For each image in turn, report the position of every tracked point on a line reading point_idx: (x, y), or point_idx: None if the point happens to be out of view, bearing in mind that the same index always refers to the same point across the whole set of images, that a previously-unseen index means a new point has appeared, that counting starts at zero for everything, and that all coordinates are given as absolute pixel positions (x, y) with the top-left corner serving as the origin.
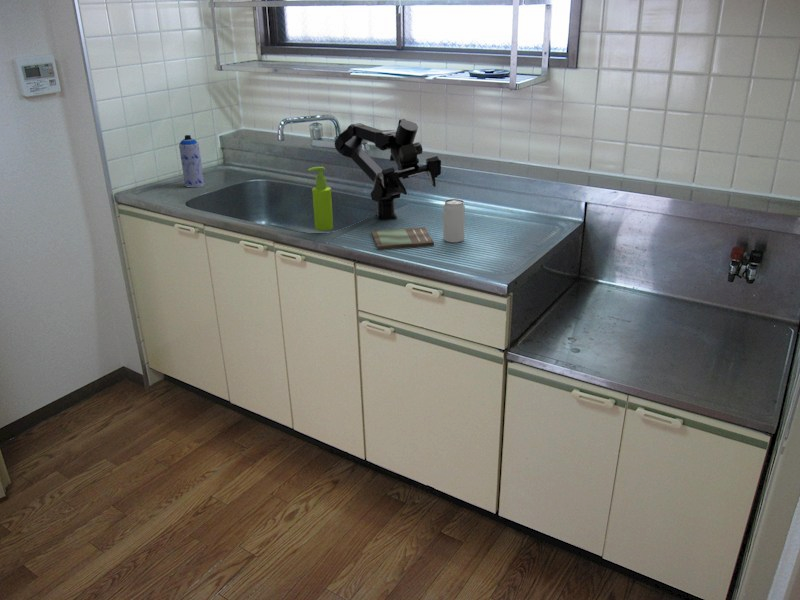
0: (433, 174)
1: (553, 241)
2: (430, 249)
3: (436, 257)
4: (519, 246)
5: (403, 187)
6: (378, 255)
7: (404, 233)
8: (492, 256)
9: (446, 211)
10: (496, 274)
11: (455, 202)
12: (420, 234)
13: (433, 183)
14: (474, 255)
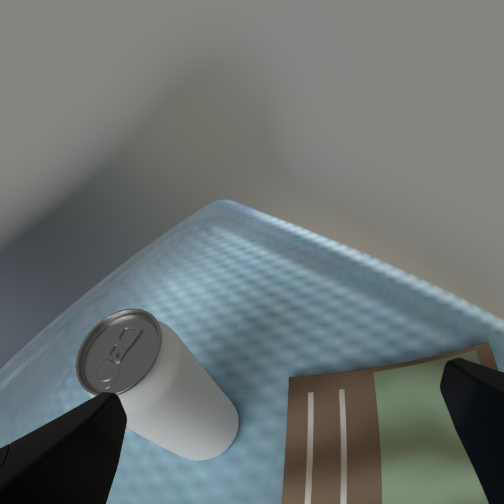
0: (4, 453)
1: (36, 341)
2: (311, 349)
3: (305, 290)
4: None
5: (495, 380)
6: (471, 304)
7: (394, 490)
8: (171, 288)
9: (185, 348)
10: (212, 220)
11: (111, 355)
12: (322, 475)
13: (108, 413)
14: (204, 296)
